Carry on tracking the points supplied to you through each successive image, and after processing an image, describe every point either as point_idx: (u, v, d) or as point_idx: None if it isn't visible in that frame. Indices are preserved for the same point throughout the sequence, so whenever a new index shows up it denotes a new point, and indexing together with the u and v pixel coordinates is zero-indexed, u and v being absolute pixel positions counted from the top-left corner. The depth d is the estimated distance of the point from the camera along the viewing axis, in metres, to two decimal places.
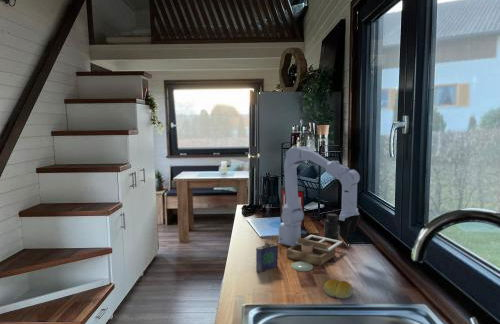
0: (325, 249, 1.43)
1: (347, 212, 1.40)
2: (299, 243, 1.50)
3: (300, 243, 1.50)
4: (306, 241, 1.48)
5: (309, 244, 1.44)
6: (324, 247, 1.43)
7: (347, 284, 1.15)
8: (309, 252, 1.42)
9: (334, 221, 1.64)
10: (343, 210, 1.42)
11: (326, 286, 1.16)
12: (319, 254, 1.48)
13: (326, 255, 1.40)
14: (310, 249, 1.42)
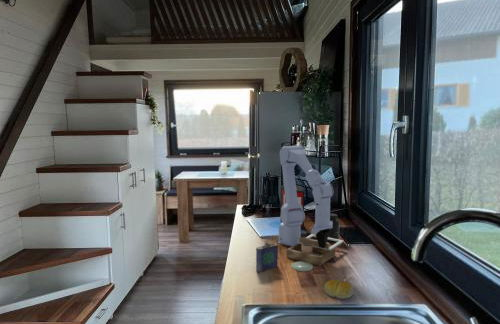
0: (326, 248, 1.44)
1: (320, 225, 1.40)
2: (301, 242, 1.51)
3: (302, 242, 1.51)
4: (307, 240, 1.49)
5: (309, 244, 1.44)
6: (325, 246, 1.44)
7: (347, 284, 1.14)
8: (309, 252, 1.42)
9: (334, 221, 1.64)
10: (316, 223, 1.41)
11: (326, 286, 1.16)
12: (319, 254, 1.48)
13: (326, 255, 1.40)
14: (310, 249, 1.42)
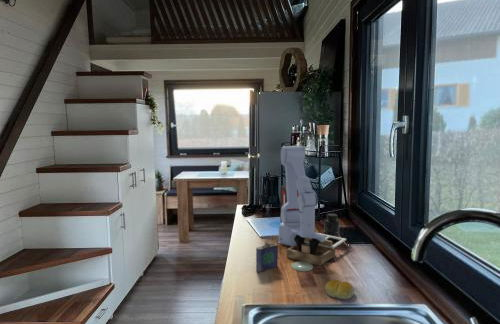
0: (330, 246, 1.46)
1: None
2: (304, 240, 1.53)
3: (305, 240, 1.53)
4: None
5: (309, 244, 1.44)
6: (329, 244, 1.46)
7: (348, 285, 1.14)
8: (309, 252, 1.42)
9: (334, 221, 1.64)
10: None
11: (327, 287, 1.15)
12: (319, 254, 1.48)
13: (326, 255, 1.40)
14: None
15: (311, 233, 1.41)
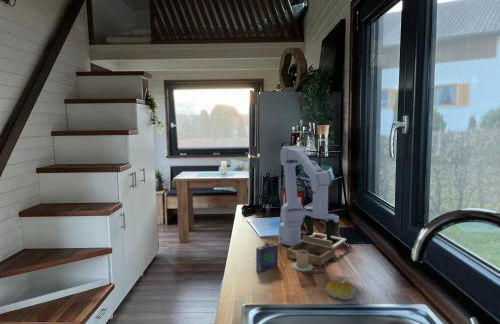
0: (330, 246, 1.46)
1: None
2: (304, 240, 1.53)
3: (305, 240, 1.53)
4: (311, 238, 1.51)
5: (305, 251, 1.35)
6: (329, 244, 1.46)
7: (349, 285, 1.14)
8: (305, 260, 1.34)
9: None
10: None
11: (328, 287, 1.15)
12: (319, 254, 1.48)
13: (326, 255, 1.40)
14: (306, 256, 1.34)
15: (324, 213, 1.36)
